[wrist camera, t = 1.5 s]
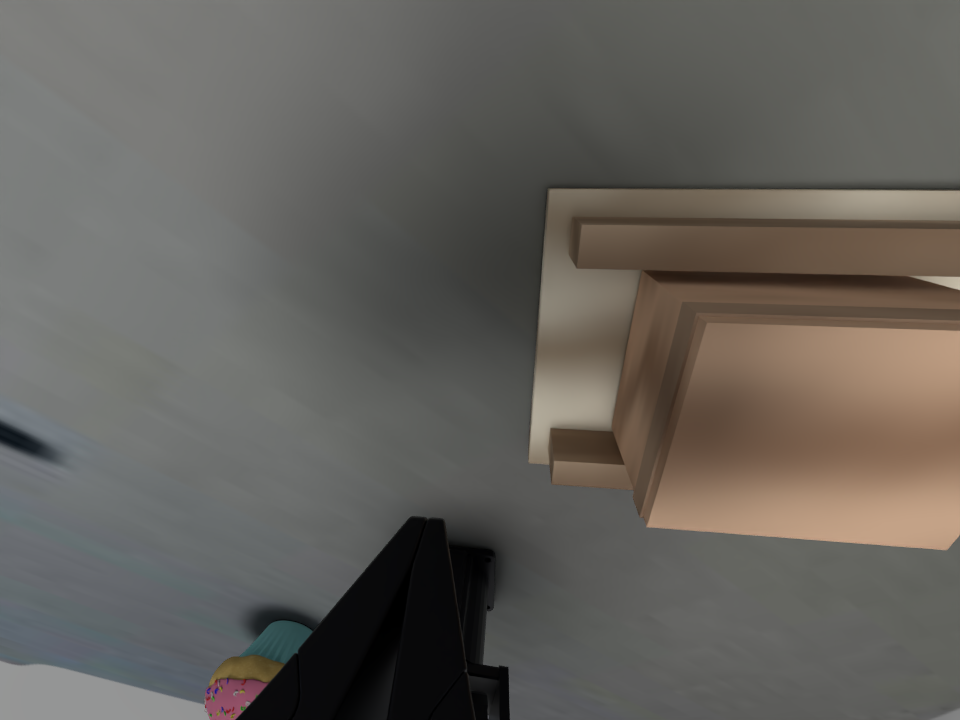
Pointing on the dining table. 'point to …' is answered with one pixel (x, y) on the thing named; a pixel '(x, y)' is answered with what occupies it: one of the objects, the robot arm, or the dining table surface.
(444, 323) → the dining table surface
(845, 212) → the bay
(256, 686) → the cupcake
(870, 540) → the crate
